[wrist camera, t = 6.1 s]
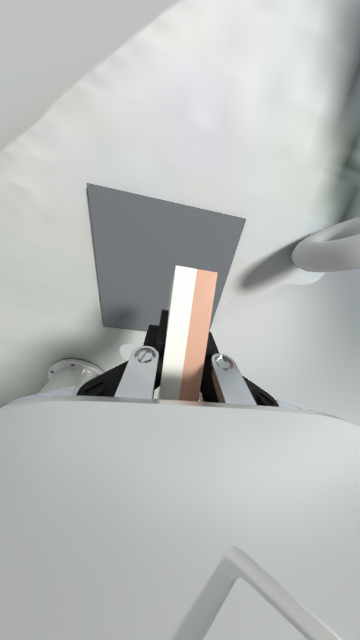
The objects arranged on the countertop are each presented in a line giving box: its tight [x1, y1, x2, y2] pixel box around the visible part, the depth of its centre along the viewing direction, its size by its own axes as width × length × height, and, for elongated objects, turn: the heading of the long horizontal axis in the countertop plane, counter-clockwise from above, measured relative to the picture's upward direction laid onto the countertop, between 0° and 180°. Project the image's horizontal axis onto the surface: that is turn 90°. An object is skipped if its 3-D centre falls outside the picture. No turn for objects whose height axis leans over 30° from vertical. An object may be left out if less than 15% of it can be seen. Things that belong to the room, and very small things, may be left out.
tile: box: [157, 265, 217, 402], centre depth 10 cm, size 8×2×7 cm, turn 170°
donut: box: [292, 217, 360, 272], centre depth 17 cm, size 10×4×10 cm, turn 115°
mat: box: [87, 183, 246, 331], centre depth 23 cm, size 20×20×1 cm
